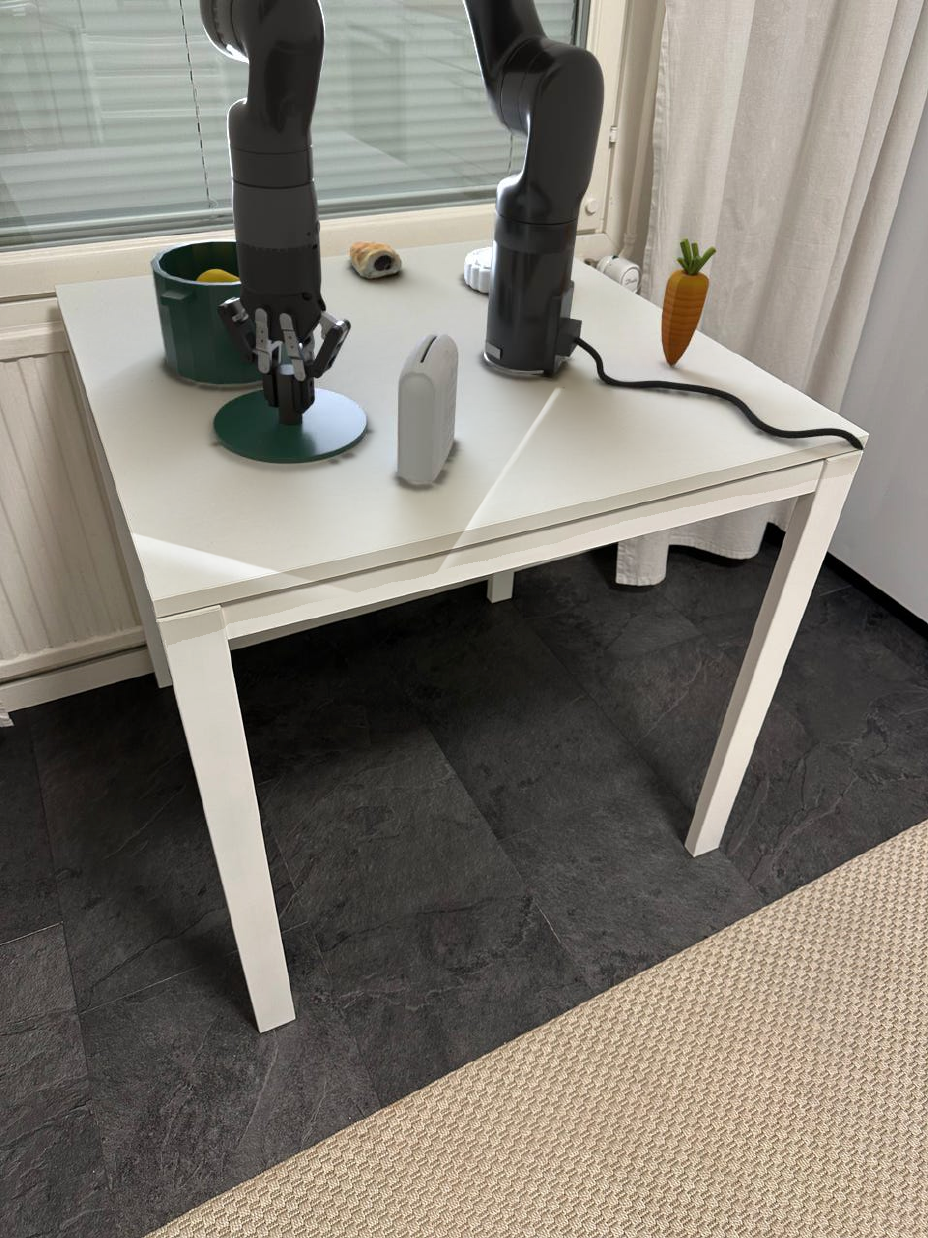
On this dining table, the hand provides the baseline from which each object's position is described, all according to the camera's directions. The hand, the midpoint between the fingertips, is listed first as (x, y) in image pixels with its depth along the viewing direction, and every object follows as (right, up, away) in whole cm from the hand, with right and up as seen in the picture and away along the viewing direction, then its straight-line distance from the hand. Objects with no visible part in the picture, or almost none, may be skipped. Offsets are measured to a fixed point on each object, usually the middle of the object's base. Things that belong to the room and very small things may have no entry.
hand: (290, 406), depth 94 cm
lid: (0, -2, +1) cm, 2 cm away
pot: (-9, +9, +14) cm, 19 cm away
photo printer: (+14, -6, -2) cm, 15 cm away
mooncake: (+24, +27, +39) cm, 53 cm away
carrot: (+43, +9, +19) cm, 48 cm away
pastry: (+4, +29, +40) cm, 50 cm away
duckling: (-9, +9, +14) cm, 19 cm away
